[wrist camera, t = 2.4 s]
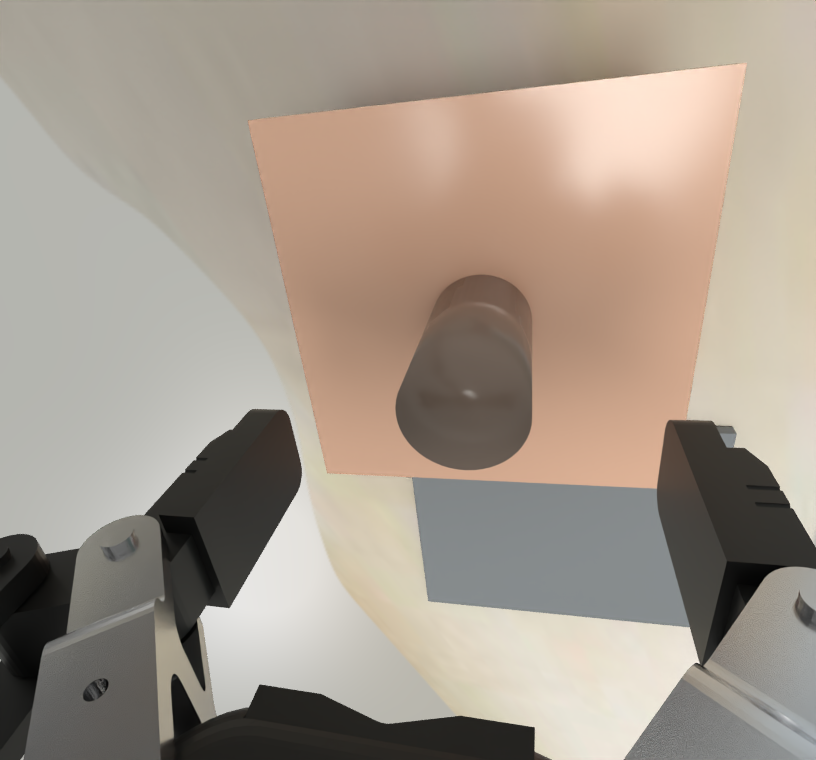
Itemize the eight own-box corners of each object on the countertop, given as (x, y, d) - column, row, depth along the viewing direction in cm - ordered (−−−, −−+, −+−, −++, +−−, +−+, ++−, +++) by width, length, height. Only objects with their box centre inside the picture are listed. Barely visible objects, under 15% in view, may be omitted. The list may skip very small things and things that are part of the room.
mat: (429, 593, 36) (428, 601, 35) (407, 419, 29) (405, 425, 29) (689, 618, 32) (692, 627, 32) (732, 426, 26) (736, 433, 25)
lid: (333, 461, 22) (270, 583, 17) (259, 118, 16) (124, 140, 11) (668, 474, 19) (720, 626, 14) (736, 63, 13) (873, 57, 8)
